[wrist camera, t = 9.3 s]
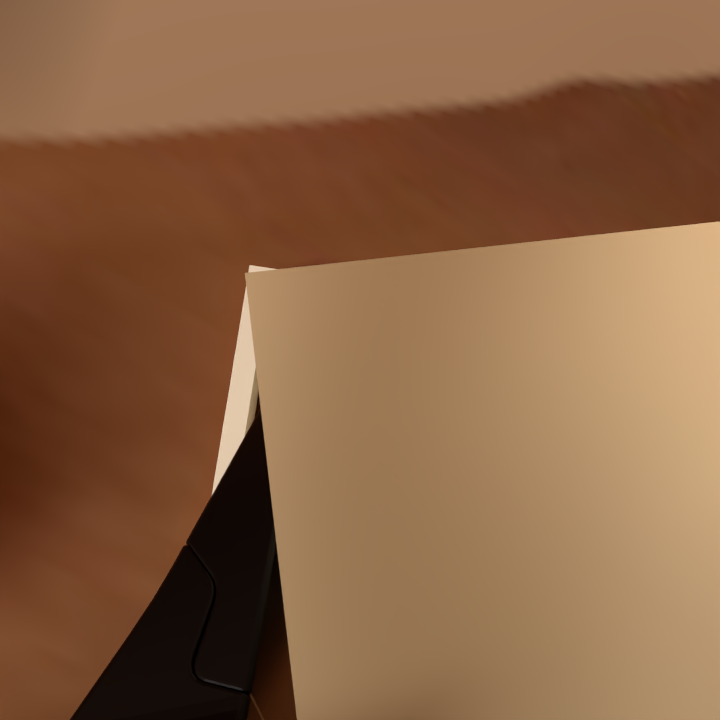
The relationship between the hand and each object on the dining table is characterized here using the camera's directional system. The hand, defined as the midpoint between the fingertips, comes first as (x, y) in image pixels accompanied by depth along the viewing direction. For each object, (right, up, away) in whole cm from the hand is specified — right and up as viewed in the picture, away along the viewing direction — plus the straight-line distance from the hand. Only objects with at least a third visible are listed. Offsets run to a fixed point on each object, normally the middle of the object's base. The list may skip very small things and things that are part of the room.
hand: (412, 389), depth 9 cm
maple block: (0, -2, +6) cm, 7 cm away
